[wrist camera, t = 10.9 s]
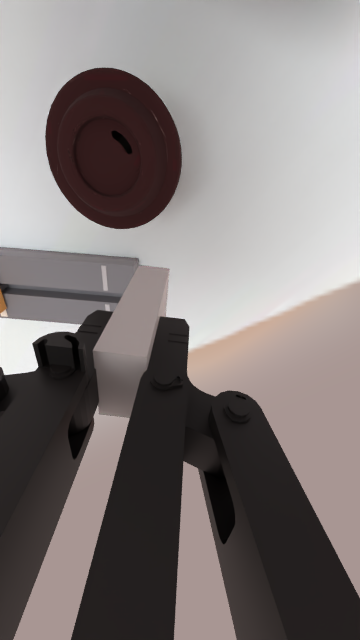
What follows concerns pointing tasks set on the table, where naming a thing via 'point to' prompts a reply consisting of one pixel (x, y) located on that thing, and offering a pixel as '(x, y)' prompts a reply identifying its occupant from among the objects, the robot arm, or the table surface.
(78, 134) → the coffee cup
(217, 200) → the table surface
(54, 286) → the slider console
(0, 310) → the fader tab
